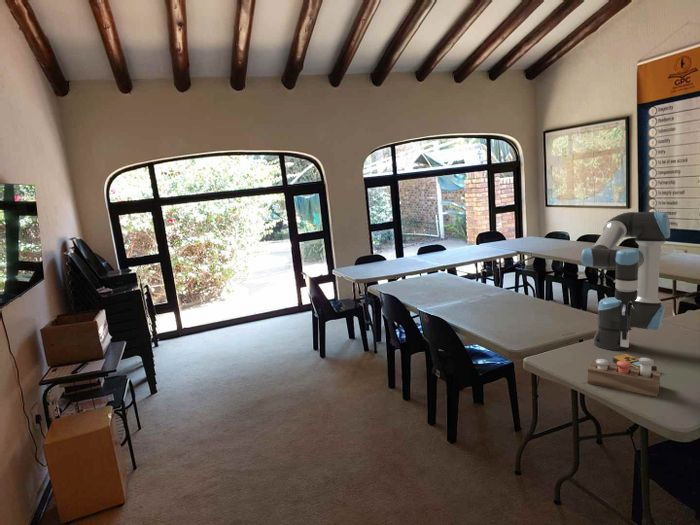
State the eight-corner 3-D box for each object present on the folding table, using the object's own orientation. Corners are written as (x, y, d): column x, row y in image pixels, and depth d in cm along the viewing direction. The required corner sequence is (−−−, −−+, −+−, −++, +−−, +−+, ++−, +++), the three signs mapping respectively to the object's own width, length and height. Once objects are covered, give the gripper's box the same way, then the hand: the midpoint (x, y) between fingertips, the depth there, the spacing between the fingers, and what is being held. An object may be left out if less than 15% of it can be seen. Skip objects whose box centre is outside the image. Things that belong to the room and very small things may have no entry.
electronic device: (626, 359, 209) (626, 352, 208) (657, 372, 194) (657, 365, 194) (611, 363, 207) (611, 355, 206) (641, 376, 192) (641, 368, 191)
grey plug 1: (596, 374, 194) (597, 358, 192) (609, 377, 191) (610, 360, 189) (594, 379, 190) (595, 362, 188) (607, 381, 187) (608, 364, 185)
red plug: (617, 377, 189) (617, 359, 187) (630, 379, 186) (631, 362, 184) (615, 381, 185) (615, 364, 184) (629, 384, 182) (629, 366, 181)
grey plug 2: (639, 374, 184) (639, 356, 182) (653, 376, 181) (654, 359, 179) (637, 379, 180) (638, 361, 179) (652, 381, 177) (652, 363, 176)
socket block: (592, 373, 197) (592, 360, 196) (659, 386, 182) (660, 371, 181) (587, 383, 189) (587, 369, 188) (657, 396, 175) (658, 382, 173)
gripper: (617, 284, 185) (616, 339, 190) (612, 292, 176) (610, 350, 180) (639, 285, 181) (637, 342, 186) (635, 294, 171) (633, 353, 176)
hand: (624, 346), depth 183 cm, fingers closed
